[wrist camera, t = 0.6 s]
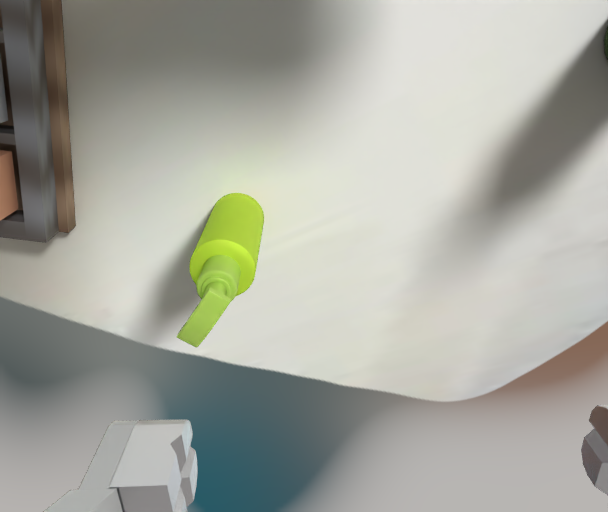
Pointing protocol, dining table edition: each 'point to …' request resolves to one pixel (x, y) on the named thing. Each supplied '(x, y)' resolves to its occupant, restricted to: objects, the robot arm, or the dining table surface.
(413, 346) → the dining table surface
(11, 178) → the terracotta key
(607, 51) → the wine bottle
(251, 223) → the soap dispenser
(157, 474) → the robot arm
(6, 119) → the grey key
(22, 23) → the compartment tray
